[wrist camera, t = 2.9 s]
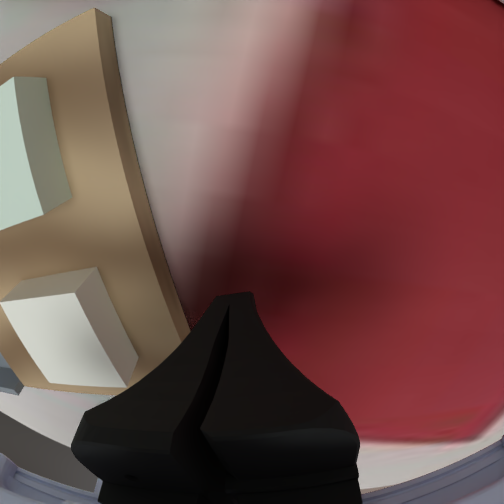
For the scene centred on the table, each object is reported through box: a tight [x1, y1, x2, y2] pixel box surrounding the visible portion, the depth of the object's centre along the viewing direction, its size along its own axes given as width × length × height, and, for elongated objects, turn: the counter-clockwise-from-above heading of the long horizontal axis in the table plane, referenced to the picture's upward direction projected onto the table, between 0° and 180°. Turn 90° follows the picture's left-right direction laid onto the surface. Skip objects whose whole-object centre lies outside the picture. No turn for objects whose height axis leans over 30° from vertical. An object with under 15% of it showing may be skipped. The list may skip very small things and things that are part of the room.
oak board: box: [0, 8, 191, 395], centre depth 12 cm, size 18×14×2 cm
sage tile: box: [0, 77, 72, 230], centre depth 8 cm, size 5×5×2 cm
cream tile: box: [0, 267, 139, 388], centre depth 12 cm, size 5×5×2 cm
